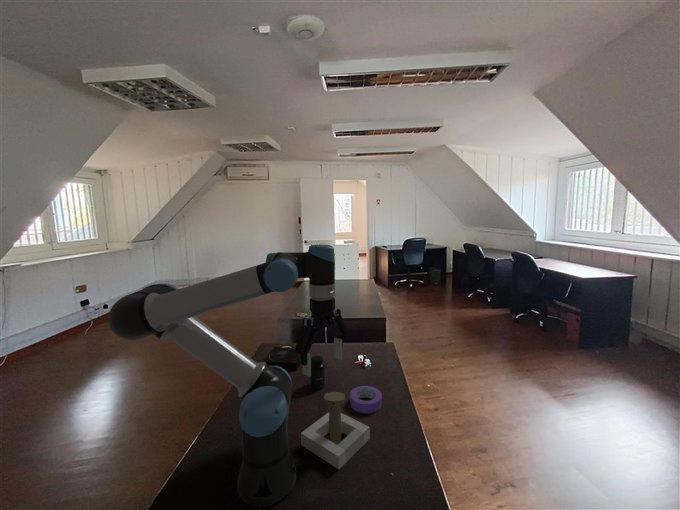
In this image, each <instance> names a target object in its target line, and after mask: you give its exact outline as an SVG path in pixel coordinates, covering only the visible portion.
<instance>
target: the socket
mask: <svg viewBox="0 0 680 510" xmlns="http://www.w3.org/2000/svg"><path fill="white" fill-rule="evenodd" d="M341 421H342V434H344V435H346V437H344V439H341V442H340V443H339V444H337V445H336V444H335V443H333V442H331V441H330V440H329V439H328V438H326V437H325V436H326V435H328V434H329V411H328V412H327V413H326V414H324V415H323V416H322V417H320V418H318V420H316V421H315V422H314V423H312V424H311V425H309V426H308V427H307V428H305V429H304V430H303V431H302V432H301V433H300V444H301V446H302V447H304V449H307V450H308V451H310V452H311V453H313V454H314V455H316V456H318V457H319V458H321V459H322V460H324V461H325V462H326V463H328V464H329V465H331V466H333V467H334V468H336V469H337V470H340V469H341V468H342V467H344V466H345V464H347V462H348V461H350V459H351V458H352V457H353V456H355V454H357V452H358V451H359V450H360V449H361V448H362V447H363V446H365V444H366V443H367V442H368V441H369V440H370V439H371V433H370V425H369V426H368V425H366V424H365V423H363V422H360V421H358V420H356V419H355V418H352V417H351V416H348V415H347V414H345V413H342V412H341Z"/></svg>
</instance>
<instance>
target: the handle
mask: <svg viewBox="0 0 680 510" xmlns="http://www.w3.org/2000/svg"><path fill="white" fill-rule="evenodd" d="M345 401H346V394H345V393H343V392H339V391H330V392H329V391H328V392H326V393H325V394H324V395H323V403H325V404H327V405H329V406H328V407H329V408H328V412H329V433H328V434H329V437H330V438H329V439H330V441H331V442H333V443H335V444H336V445H338V444H339V443H340V442H341V441H342V435H343V433H342V421H341V413H342V412H341V410H342V409H341V405H343V404H344V403H345Z"/></svg>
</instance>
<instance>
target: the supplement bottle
mask: <svg viewBox="0 0 680 510" xmlns="http://www.w3.org/2000/svg"><path fill="white" fill-rule="evenodd" d="M310 358H311V376H309V377H308V386H309V388H310V389H312V390H321V389H323V388H325V386H326V364H325V363H324V361H323V360H324V359H323V356H322V355H313V356H311V357H310Z"/></svg>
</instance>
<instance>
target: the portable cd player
mask: <svg viewBox="0 0 680 510" xmlns="http://www.w3.org/2000/svg"><path fill="white" fill-rule="evenodd" d="M294 350H295V347H290V346H289V347H284V346H283V347H282V346H274V347H273V348H272V350H270V352H269V353H268V354H267V355H266V357H264V359H263V360H262V361H261V362H265V363H267V364H268V365H269V366H279V367H281V368H283V369H285V370H286V371H296V372H297V371H298V369H299V368H300V366H301V365H302V364H301V355H300V354H297V353H295V352H294ZM304 350H305V349H304Z"/></svg>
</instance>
